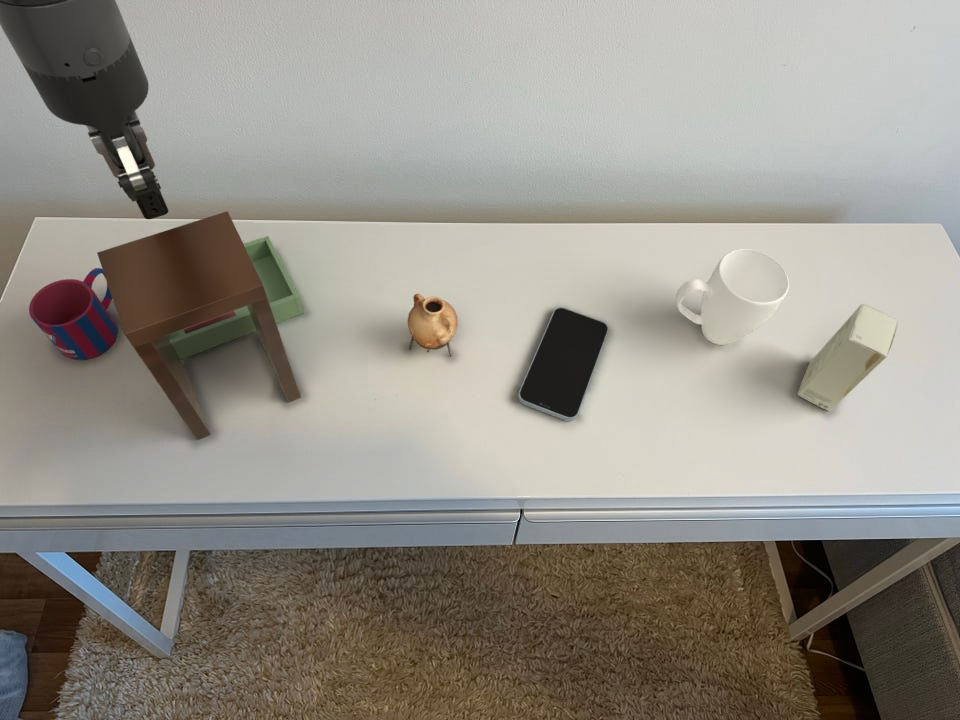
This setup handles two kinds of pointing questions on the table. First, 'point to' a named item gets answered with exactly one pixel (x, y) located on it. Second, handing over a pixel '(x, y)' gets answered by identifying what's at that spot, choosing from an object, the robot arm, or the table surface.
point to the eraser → (209, 322)
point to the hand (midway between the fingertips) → (155, 211)
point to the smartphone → (563, 364)
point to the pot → (432, 323)
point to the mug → (737, 295)
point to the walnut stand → (189, 301)
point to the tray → (278, 294)
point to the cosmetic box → (848, 357)
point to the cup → (75, 317)
